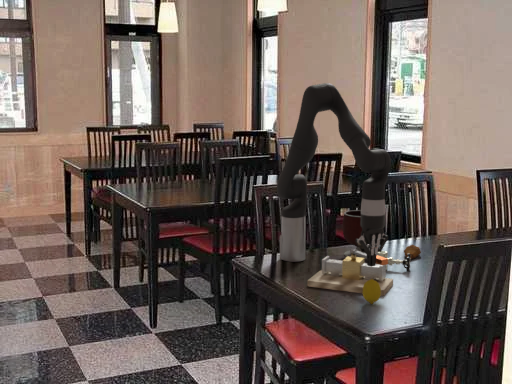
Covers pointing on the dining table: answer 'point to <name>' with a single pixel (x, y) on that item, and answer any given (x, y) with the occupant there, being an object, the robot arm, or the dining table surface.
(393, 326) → the dining table surface
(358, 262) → the pipe valve
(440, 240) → the dining table surface
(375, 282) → the lemon
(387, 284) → the valve board
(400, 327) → the dining table surface
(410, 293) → the dining table surface
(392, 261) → the valve
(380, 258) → the valve lever
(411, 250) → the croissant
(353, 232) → the mate gourd
